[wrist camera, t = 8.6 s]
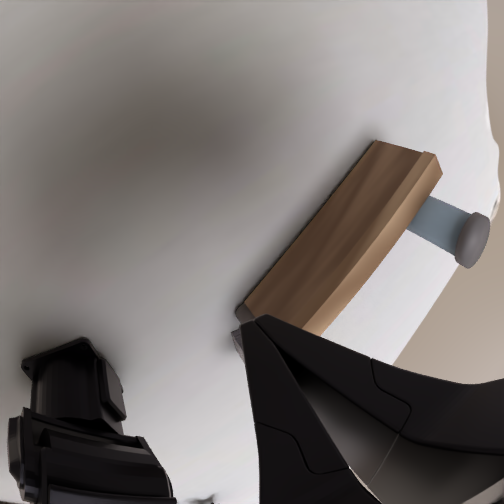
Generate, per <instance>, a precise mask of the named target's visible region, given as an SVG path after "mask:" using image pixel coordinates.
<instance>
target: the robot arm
mask: <svg viewBox="0 0 504 504" xmlns="http://www.w3.org/2000/svg"><path fill="white" fill-rule="evenodd" d="M239 328H240V335H241V342H242V349H243V355H244V362H245V368H246V375H247V381H248V388H249V394H250V400H251V407H252V413H253V419H254V423H255V424H254V426H255V432H256V439H257V447H258V455H259V504H382V503H383V504H504V378H503V379H499V380H495V381H490V382H486V383H481V384H461V383H456V382H451V381H447V380H442V379H438V378H434V377H430V376H426V375H422V374H418V373H414V372H411V371H407V370H403V369H400V368H398V367H395V366H392V365H389V364H386V363H384V362H381V361H379V360H376V359H373V358H371V359H370V357H368V356H366V355H363V354H361V353H358V352H356V351H353V350H351V349H348V348H346V347H344V346H341V345H339V344H336V343H334V342H332V341H329V340H327V339H324V338H322V337H320V336H317V335H315V334H313V333H310V332H308V331H306V330H303V329H301V328H299V327H297V326H294V325H292V324H290V323H287V322H285V321H283V320H281V319H278V318H276V317H274V316H272V315H270V314H263V315H260V316H258V317H256V318H254V320H249V321H247V322H245V323H242V324H240V326H239ZM82 345H86V346H82ZM27 366H28V367H27ZM21 368H22V370H23V371H24V372H25V373H26V375H27V376H28V377H29V378H30V379H31V380H32V389H31V403H30V409H28V408H25V407H23V409H22V413H21V416H17V417H15V418H9V423H8V439H7V450H8V464H9V472H10V473H11V475H12V476H13V477H14V479H15V480H16V482H17V486H18V488H19V491H20V495H21V498H22V500H23V501H26V502H30V504H177V499H176V498H175V497H173V489H172V484H171V482H170V479H169V477H168V475H167V473H166V471H165V470H164V468H163V467H162V466H161V464H160V463H159V461H158V460H157V458H156V457H155V455H154V453H153V452H152V450H151V449H150V447H149V445H148V444H147V442H146V441H145V439H144V437H140V436H135V437H133V436H127V435H124V433H123V428H122V423H121V421H124V420H126V417H127V416H126V411H125V406H124V401H123V396H122V393H123V388H122V386H121V385H120V380H119V378H118V376H117V375H116V374H115V372H114V371H113V369H112V368H111V367H110V365H109V364H108V362H107V361H106V360H105V359H103V358H101V357H100V356H99V355H98V353H97V352H96V350H95V349H94V347H93V346H92V344H91V343H90V341H89V340H87V339H84V338H82V339H79V340H76V341H74V342H71V343H68V344H66V345H63V346H60V347H58V348H55V349H52V350H49V351H47V352H44V353H41V354H39V355H36V356H33V357H30V358H28V359H25V360H23V361H22V363H21ZM348 465H349V466H350V467H351V469H352V470H353V471H354V472H355V473H356V474H357V475H358V476H359V478H360V479H361V480H362V481H363V482H364V483H365V484H366V485H368V486H367V487H368V488H369V489H370V490H371V491H372V492H373V493H374V495H376V497H377V498H378V499H379V500H380V501H381V502H382V503H381V502H380V501H378V500H377V499H376V498H375V497H374V496H373V495H372V494H371V493H370V492H369V491H368V490H367V489H366V488H365V487H363V485H362V484H361V483H360V482H359V481H358V479H357V478H356V477H355V475H354V474H353V472H352V471H351V469H349V466H348Z"/></svg>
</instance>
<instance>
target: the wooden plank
mask: <svg viewBox="0 0 504 504" xmlns="http://www.w3.org/2000/svg"><path fill="white" fill-rule="evenodd" d="M442 175H443V173H442V170H441V168H440V165H439V162H438V160H437V157H436V155H435V154H432V153H429V152H426V151H424V152H423V153H422V152H418V151H415V150H412V149H408V148H404V147H401V146H397V145H393V144H390V143H386V142H382V141H378V140H375V142H374V143H373V144H372V145H371V147H370V148H369V149H368V151H367V152H366V153H365V154H364V156H363V157H362V158H361V159H360V161H359V162H358V163H357V165H356V166H355V167H354V168H353V170H352V171H351V172H350V173H349V175H348V176H347V177H346V178H345V180H344V181H343V182H342V183H341V185H340V186H339V187H338V188H337V190H336V191H335V192H334V193H333V195H332V196H331V197H330V198H329V200H328V201H327V202H326V203H325V205H324V206H323V207H322V208H321V210H320V211H319V212H318V213H317V215H316V216H315V217H314V218H313V219H312V221H311V222H310V223H309V224H308V226H307V227H306V228H305V229H304V230H303V232H302V233H301V234H300V235H299V237H298V238H297V239H296V240H295V241H294V243H293V244H292V245H291V246H290V248H289V249H288V250H287V251H286V252H285V254H284V255H283V256H282V257H281V258H280V260H279V261H278V262H277V263H276V264H275V266H274V267H273V268H272V269H271V270H270V272H269V273H268V274H267V275H266V276H265V278H264V279H263V280H262V281H261V282H260V284H259V285H258V286H257V287H256V288H255V289H254V291H253V292H252V293H251V294H250V295H249V297H248V298H247V299H246V300H245V301H244V303H245V304H242V305H241V306H240V307H239V308H238V309H237V311H236V317H237V318H238V320H239V321H240V323H241V324H242V323H245V322H247V321H249V320H254V318H256V317H258V316H260V315H263V314H270V315H272V316H274V317H276V318H278V319H281V320H283V321H285V322H287V323H290V324H292V325H294V326H297V327H299V328H301V329H303V330H306V331H308V332H310V333H313V334H315V335H317V336H320V335H321V334H322V333H323V332H324V331H325V330H326V329H327V328H328V326H329V325H330V324H331V323H332V322H333V321H334V319H335V318H336V317H337V316H338V315H339V314H340V313H341V311H342V310H343V309H344V308H345V307H346V305H347V304H348V303H349V302H350V301H351V299H352V298H353V297H354V296H355V295H356V293H357V292H358V291H359V290H360V288H361V287H362V286H363V285H364V283H365V282H366V281H367V280H368V278H369V277H370V276H371V275H372V273H373V272H374V271H375V270H376V268H377V267H378V266H379V264H380V263H381V262H382V261H383V259H384V258H385V257H386V255H387V254H388V253H389V251H390V250H391V249H392V247H393V246H394V245H395V243H396V242H397V241H398V239H399V238H400V236H401V235H402V234H403V232H404V231H405V229H406V228H407V227H408V225H409V224H410V222H411V221H412V220H413V218H414V217H415V215H416V214H417V212H418V211H419V209H420V208H421V207H422V205H423V204H424V202H425V201H426V199H427V198H428V196H429V195H430V193H431V192H432V190H433V189H434V187H435V185H436V184H437V182H438V181H439V179H440V178H441V176H442Z"/></svg>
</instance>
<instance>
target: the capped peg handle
mask: <svg viewBox="0 0 504 504" xmlns="http://www.w3.org/2000/svg"><path fill="white" fill-rule="evenodd" d="M406 229H407V230H409V231H411V232H413V233H415V234H417V235H418V236H420V237H422V238H424V239H426V240H428V241H429V242H431V243H433V244H435V245H437V246H438V247H440V248H442V249H444V250H445V251H447V252H449V253H451V254H452V255H454V256H455V260H456V262H457V263H459V264H460V265H462V266H464V267H466V268H471V267H472V266H473V265H474V264H475V263H476V262H477V261H478V259H479V258H480V256H481V254H482V252H483V250H484V248H485V246H486V243H487V240H488V237H489V231H490V220H489V218H488V217H486V216H484V215H482V214H480V213H478V212H475V213H473V214H472V215H471V214H469V213H467V212H465V211H463V210H461V209H459V208H456V207H454V206H452V205H450V204H448V203H445V202H443V201H441V200H438V199H436V198H434V197H431V196H428V198H427V199H426V201H425V202H424V204H423V205H422V207H421V208H420V209H419V211H418V212H417V214H416V215H415V217H414V218H413V220H412V221H411V222H410V224H409V225H408V227H407V228H406Z"/></svg>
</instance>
